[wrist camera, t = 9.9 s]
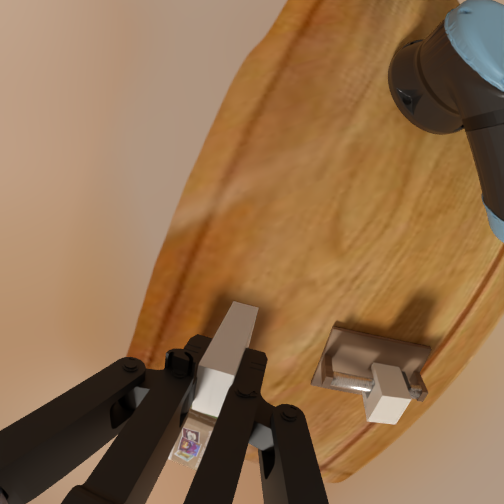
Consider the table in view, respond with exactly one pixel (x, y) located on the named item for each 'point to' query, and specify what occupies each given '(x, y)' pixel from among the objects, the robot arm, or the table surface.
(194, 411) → the tea box
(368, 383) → the pipe
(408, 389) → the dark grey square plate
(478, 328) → the table surface
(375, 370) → the sleeve
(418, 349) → the board
